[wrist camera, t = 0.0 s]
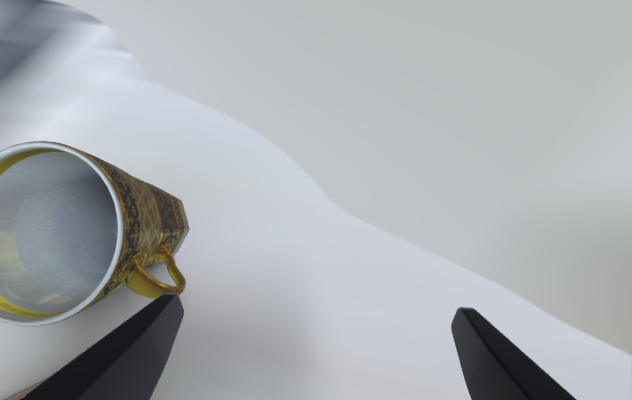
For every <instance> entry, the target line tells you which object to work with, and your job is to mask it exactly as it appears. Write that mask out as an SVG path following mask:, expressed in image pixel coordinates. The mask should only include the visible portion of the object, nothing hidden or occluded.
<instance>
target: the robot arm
mask: <svg viewBox="0 0 632 400" xmlns="http://www.w3.org/2000/svg"><path fill="white" fill-rule="evenodd" d="M183 315H184V309H183V306H182V304H181V301H180V298H179V296H178V295H177V294H175V293H164V294H162V295H161V296H159V297H158V298H157V299H155V300H154V301H152V302H151V303H150V304H148V305H147V306H146V307H144V308H143V309H142V310H140V311H139V312H138V313H136V314H135V315H133V316H132V317H131V318H129V319H128V320H127V321H125V322H124V323H123V324H121V325H120V326H119V327H117V328H116V329H114V330H113V331H112V332H110V333H109V334H108V335H106V336H105V337H104V338H102V339H101V340H100V341H98V342H97V343H95V344H94V345H93V346H91V347H90V348H89V349H87V350H86V351H85V352H83V353H82V354H81V355H79V356H78V357H76V358H75V359H74V360H72V361H71V362H70V363H68V364H67V365H66V366H64V367H63V368H62V369H60V370H59V371H57V372H56V373H55V374H53V375H52V376H51V377H49V378H48V379H47V380H45V381H44V382H43V383H41V384H40V385H38V386H37V387H36V388H34V389H33V390H32V391H30V392H29V393H28V394H26V395H25V397H24V398H21V399H19V400H150V397H151V395H152V393H153V391H154V389H155V387H156V385H157V383H158V380H159V378H160V376H161V374H162V372H163V370H164V367H165V365H166V362H167V360H168V357H169V355H170V352H171V349H172V346H173V344H174V341H175V338H176V335H177V332H178V330H179V327H180V324H181V321H182V319H183ZM451 329H452V334H453V338H454V341H455V345H456V349H457V353H458V356H459V360H460V364H461V368H462V371H463V375H464V379H465V382H466V385H467V388H468V391H469V394H470V396H471V399H472V400H576V399H575V398H574V397H573V396H572V395H571V394H570V393H568V392H567V391H566V390H565V389H564V388H563V387H562V386H561V385H559V384H558V383H557V382H556V381H555V380H554V379H553V378H552V377H550V376H549V375H548V374H547V373H546V372H545V371H544V370H543V369H541V368H540V367H539V366H538V365H537V364H536V363H535V362H534V361H532V360H531V359H530V358H529V357H528V356H527V355H526V354H525V353H523V352H522V351H521V350H520V349H519V348H518V347H517V346H516V345H514V344H513V343H512V342H511V341H510V340H509V339H508V338H507V337H505V336H504V335H503V334H502V333H501V332H500V331H499V330H498V329H496V328H495V327H494V326H493V325H492V324H491V323H490V322H489V321H487V320H486V319H485V318H484V317H483V316H482V315H481V314H480V313H478V312H477V311H476V310H475V309H473V308H466V307H460V308H458V310H457V312H456V314H455V316H454V319H453V321H452V324H451Z"/></svg>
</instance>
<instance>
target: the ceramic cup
mask: <svg viewBox="0 0 632 400" xmlns="http://www.w3.org/2000/svg"><path fill="white" fill-rule="evenodd" d="M188 232H189V225H188V222H187V218H186V214H185V211H184V207H183V204H182V201H181V200H179V199H178V198H176V197H174V196H172V195H170V194H169V193H167V192H165V191H163V190H161V189H159V188H157V187H155V186H153V185H151V184H149V183H146V182H144V181H141V180H139V179H137V178H135V177H133V176H131V175H129V174H128V173H126V172H124V171H123V170H121V169H119V168H118V167H116V166H114V165H112V164H110V163H108V162H105V161H103V160H101V159H99V158H97V157H95V156H93V155H90V154H88V153H85V152H83V151H81V150H78V149H76V148H73V147H71V146H68V145H64V144H61V143H56V142H47V141H37V142H27V143H21V144H17V145H13V146H11V147H8V148H6V149H3V150H1V151H0V321H2V322H4V323H8V324H13V325H18V326H41V325H48V324H52V323H56V322H59V321H62V320H65V319H67V318H69V317H71V316H73V315H75V314H77V313H79V312H81V311H83V310H84V309H86V308H88V307H90V306H92V305H94V304H95V303H97V302H99V301H101V300H102V299H104V298H106V297H107V296H109V295H110V294H112V293H113V292H115V291H116V290H118V289H119V288H121V287H122V286H124V285H126V284H127V286H128V287H129V288H130V289H131V290H132V291H134V292H135V293H137V294H139V295H142V296H145V297H148V298H153V299H157V298H158V297H159V296H161V295H162V294H164V293H175V294H177V295H180V294H181V293H182V292H183V290H184V288H185V279H184V277H183V275H182V274H181V273H180V271H179V270H178V268H177V267H176V265H175V262H174V259H173V257H172V256H173V255H175V254H176V253H177V252H178V250H179V248H180V246H181V244H182V243H183V241H184V239H185V237H186V235H187V233H188ZM162 261H163V262H165V263H166V265H167V269H168V272H169V274H170V276H171V277H172V279H173V280H174V282H175V283H176V285H177V286H176V287H173V286H169V285H165V284H163V283H161V282H159V281H158V280H156V279H155V278H154V277H153V276H151V275H150V274H149V273H148V272H147V270H149V269H150V268H152V267H154V266H155V265H157V264H159V263H160V262H162Z"/></svg>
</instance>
